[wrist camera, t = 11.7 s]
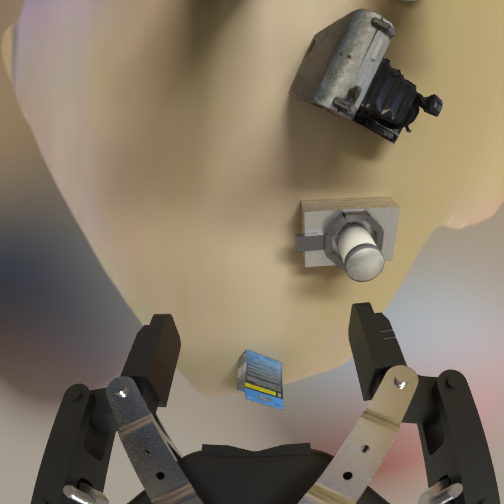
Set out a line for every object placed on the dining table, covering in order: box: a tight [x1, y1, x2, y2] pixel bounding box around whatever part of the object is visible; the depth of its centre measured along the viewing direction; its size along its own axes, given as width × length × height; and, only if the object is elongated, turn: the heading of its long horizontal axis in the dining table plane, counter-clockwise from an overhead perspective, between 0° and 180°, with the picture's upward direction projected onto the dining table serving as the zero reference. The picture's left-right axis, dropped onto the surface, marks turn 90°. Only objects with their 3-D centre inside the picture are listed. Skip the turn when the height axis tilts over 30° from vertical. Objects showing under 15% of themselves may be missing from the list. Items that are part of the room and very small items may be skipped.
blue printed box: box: [237, 350, 284, 410], centre depth 58 cm, size 9×4×12 cm, turn 59°
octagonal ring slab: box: [296, 197, 399, 269], centre depth 43 cm, size 9×15×6 cm, turn 96°
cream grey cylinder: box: [336, 223, 384, 282], centre depth 39 cm, size 5×5×7 cm
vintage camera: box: [289, 9, 443, 144], centre depth 27 cm, size 10×15×20 cm, turn 68°
